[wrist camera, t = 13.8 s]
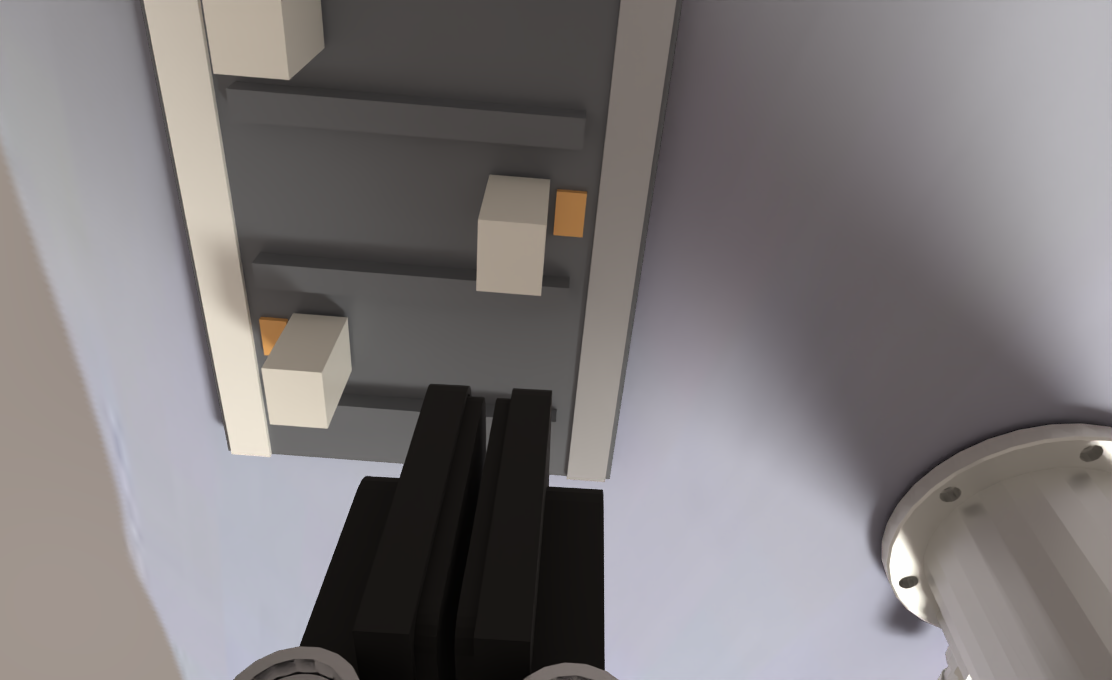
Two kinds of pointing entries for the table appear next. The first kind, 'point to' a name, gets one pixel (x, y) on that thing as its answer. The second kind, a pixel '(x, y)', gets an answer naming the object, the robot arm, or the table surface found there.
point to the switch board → (422, 207)
